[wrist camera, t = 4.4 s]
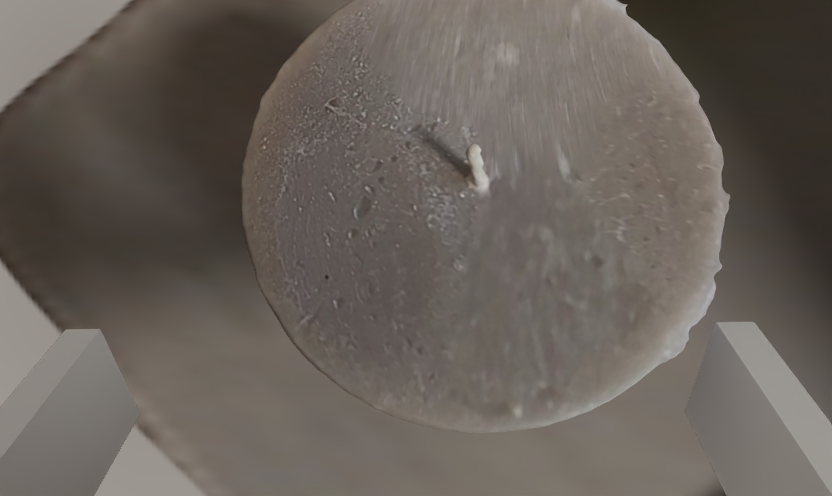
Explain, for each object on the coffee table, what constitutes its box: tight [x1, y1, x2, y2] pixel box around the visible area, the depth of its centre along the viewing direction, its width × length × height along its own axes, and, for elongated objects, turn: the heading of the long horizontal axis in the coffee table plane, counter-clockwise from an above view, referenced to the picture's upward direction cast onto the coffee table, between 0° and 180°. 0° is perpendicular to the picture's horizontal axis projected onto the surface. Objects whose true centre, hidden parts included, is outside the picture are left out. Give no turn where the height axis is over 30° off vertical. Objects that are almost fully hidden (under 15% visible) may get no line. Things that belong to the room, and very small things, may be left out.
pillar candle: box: [241, 0, 730, 433], centre depth 16 cm, size 10×10×15 cm
